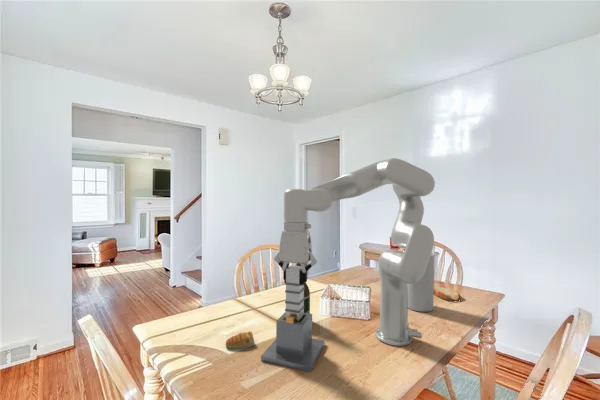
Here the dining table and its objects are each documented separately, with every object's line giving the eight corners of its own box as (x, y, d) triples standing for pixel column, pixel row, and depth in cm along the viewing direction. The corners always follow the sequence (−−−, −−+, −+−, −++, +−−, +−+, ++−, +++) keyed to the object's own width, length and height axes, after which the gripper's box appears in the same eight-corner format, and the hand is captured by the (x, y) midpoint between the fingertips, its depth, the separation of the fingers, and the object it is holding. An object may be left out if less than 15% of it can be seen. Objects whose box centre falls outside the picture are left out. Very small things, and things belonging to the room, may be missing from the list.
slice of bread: (427, 287, 161) (427, 280, 161) (464, 294, 150) (464, 287, 150) (419, 296, 147) (419, 289, 147) (459, 304, 136) (459, 296, 136)
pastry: (227, 353, 92) (227, 341, 92) (224, 343, 98) (224, 332, 98) (255, 347, 96) (255, 335, 96) (250, 338, 102) (250, 327, 102)
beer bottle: (308, 326, 110) (308, 265, 110) (288, 324, 112) (289, 264, 112) (311, 318, 118) (311, 261, 118) (293, 316, 120) (293, 260, 119)
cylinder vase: (427, 302, 137) (428, 251, 136) (437, 313, 124) (438, 256, 124) (401, 301, 138) (401, 250, 138) (408, 311, 126) (409, 255, 125)
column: (304, 320, 94) (304, 266, 93) (299, 327, 89) (299, 270, 89) (290, 318, 95) (291, 265, 95) (284, 324, 91) (285, 268, 90)
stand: (324, 344, 97) (325, 306, 97) (310, 371, 82) (310, 327, 82) (281, 336, 102) (282, 300, 102) (261, 360, 87) (261, 318, 87)
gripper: (323, 227, 92) (323, 282, 93) (276, 225, 98) (276, 277, 98) (317, 229, 85) (316, 289, 86) (266, 227, 91) (266, 283, 91)
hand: (295, 282), depth 92 cm, fingers closed on column, 4 cm apart
